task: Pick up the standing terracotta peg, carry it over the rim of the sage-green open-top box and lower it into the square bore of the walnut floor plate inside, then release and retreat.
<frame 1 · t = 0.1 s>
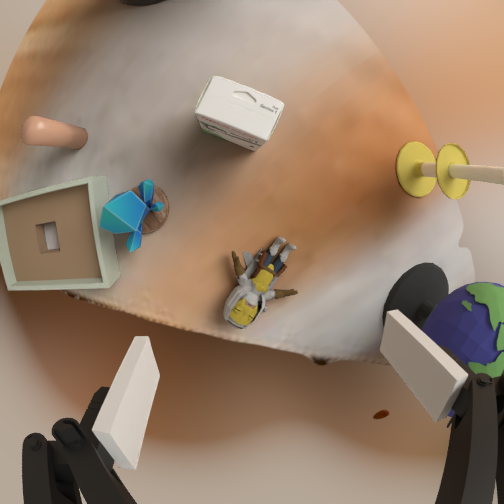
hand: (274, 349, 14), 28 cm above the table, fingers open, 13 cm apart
box: (54, 234, 38), on the table
toy: (257, 277, 43), on the table
peg: (78, 138, 34), on the table
ink box: (235, 126, 36), on the table
candle: (416, 169, 40), on the table
globe: (417, 303, 47), on the table
gemstone: (146, 209, 38), on the table
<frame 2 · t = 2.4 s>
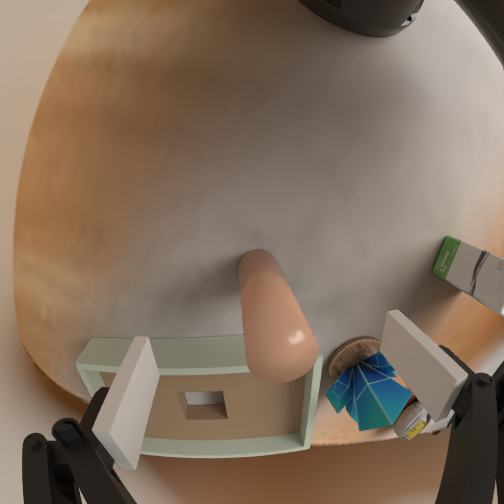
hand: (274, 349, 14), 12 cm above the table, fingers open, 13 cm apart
box: (204, 391, 29), on the table
toy: (423, 393, 34), on the table
peg: (258, 268, 25), on the table
ink box: (455, 263, 27), on the table
gemstone: (353, 360, 30), on the table
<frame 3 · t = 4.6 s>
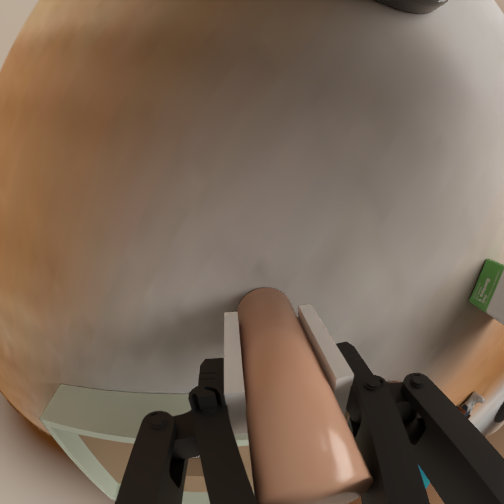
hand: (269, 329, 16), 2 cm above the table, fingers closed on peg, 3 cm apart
box: (196, 446, 21), on the table
toy: (439, 425, 27), on the table
peg: (264, 312, 18), on the table, touching gripper
ink box: (491, 289, 20), on the table
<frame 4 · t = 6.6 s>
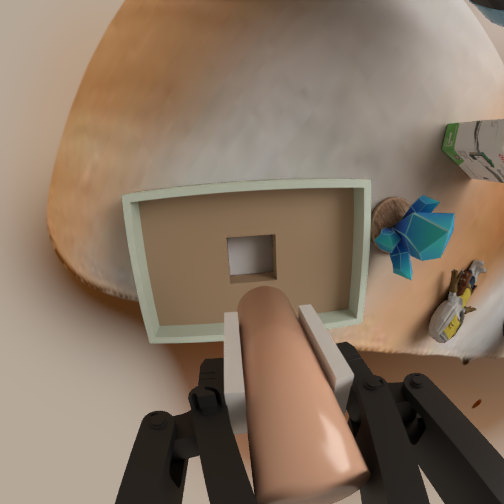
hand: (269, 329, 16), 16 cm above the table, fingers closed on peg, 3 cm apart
box: (250, 252, 31), on the table
toy: (451, 294, 36), on the table
peg: (264, 310, 18), point 14 cm above the table, touching gripper
ink box: (460, 151, 30), on the table
gemstone: (390, 226, 32), on the table
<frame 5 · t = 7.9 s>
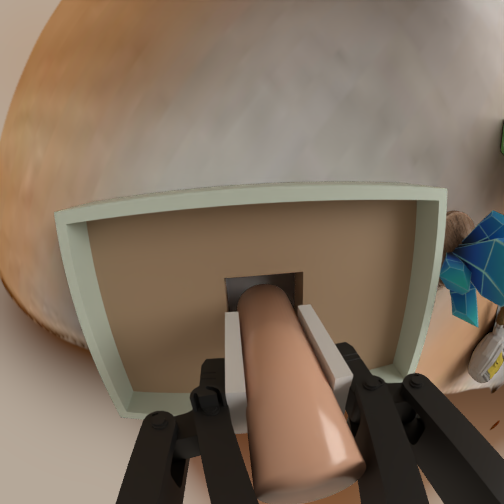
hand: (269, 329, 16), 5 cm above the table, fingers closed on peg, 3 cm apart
box: (261, 294, 20), on the table
toy: (493, 324, 26), on the table
peg: (263, 308, 18), point 2 cm above the table, touching gripper
gemstone: (447, 249, 21), on the table
when the fingers open (4 cm above the table, at t = 8.7 s): peg stays where it is, resting in box.
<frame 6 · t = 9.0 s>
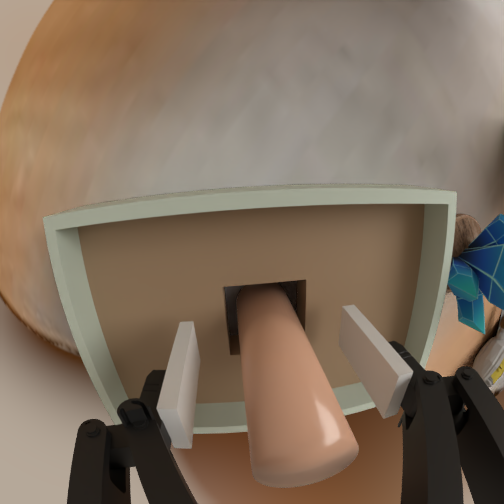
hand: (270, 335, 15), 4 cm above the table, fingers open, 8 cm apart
box: (261, 302, 19), on the table
toy: (496, 329, 25), on the table
peg: (261, 302, 19), resting in box
gemstone: (453, 254, 20), on the table
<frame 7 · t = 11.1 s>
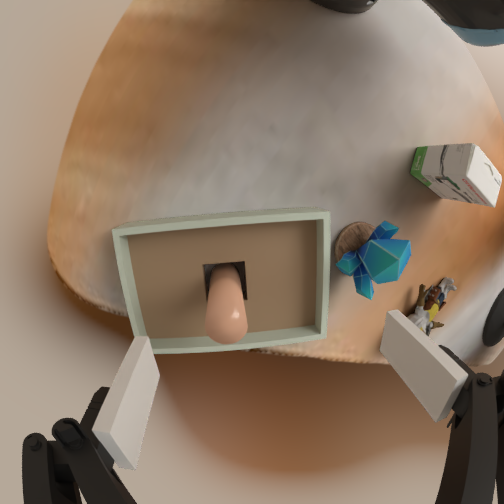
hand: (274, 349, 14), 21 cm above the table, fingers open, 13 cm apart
box: (225, 276, 35), on the table
toy: (419, 309, 41), on the table
peg: (225, 275, 35), resting in box
ink box: (430, 173, 34), on the table
globe: (501, 314, 45), on the table
gemstone: (356, 248, 36), on the table
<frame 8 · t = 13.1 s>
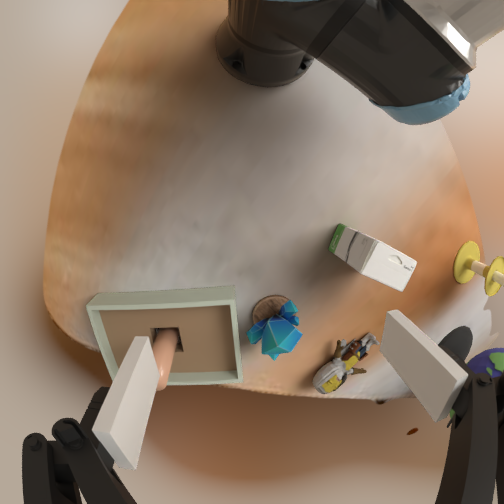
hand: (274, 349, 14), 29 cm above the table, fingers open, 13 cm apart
box: (169, 332, 45), on the table
toy: (342, 356, 50), on the table
peg: (169, 332, 45), resting in box
ink box: (353, 245, 44), on the table
candle: (466, 262, 47), on the table
globe: (449, 353, 54), on the table
gemstone: (272, 314, 46), on the table
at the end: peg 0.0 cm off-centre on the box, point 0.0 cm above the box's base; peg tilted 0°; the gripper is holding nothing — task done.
